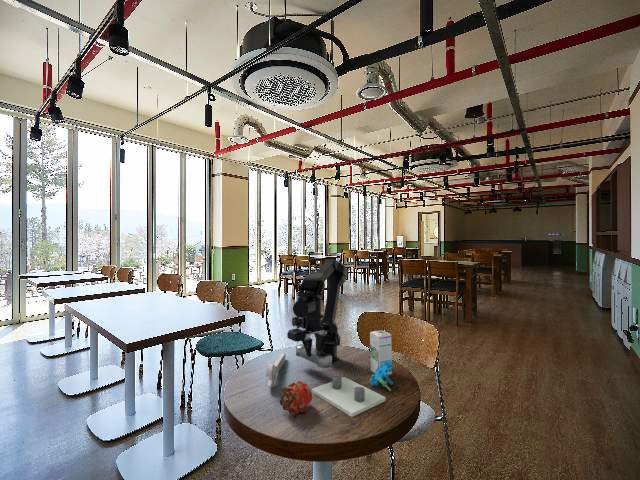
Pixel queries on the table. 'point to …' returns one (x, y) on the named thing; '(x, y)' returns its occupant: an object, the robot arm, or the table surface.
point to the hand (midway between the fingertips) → (313, 355)
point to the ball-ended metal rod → (315, 356)
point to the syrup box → (379, 349)
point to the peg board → (348, 395)
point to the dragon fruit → (296, 397)
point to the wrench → (274, 370)
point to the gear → (382, 375)
